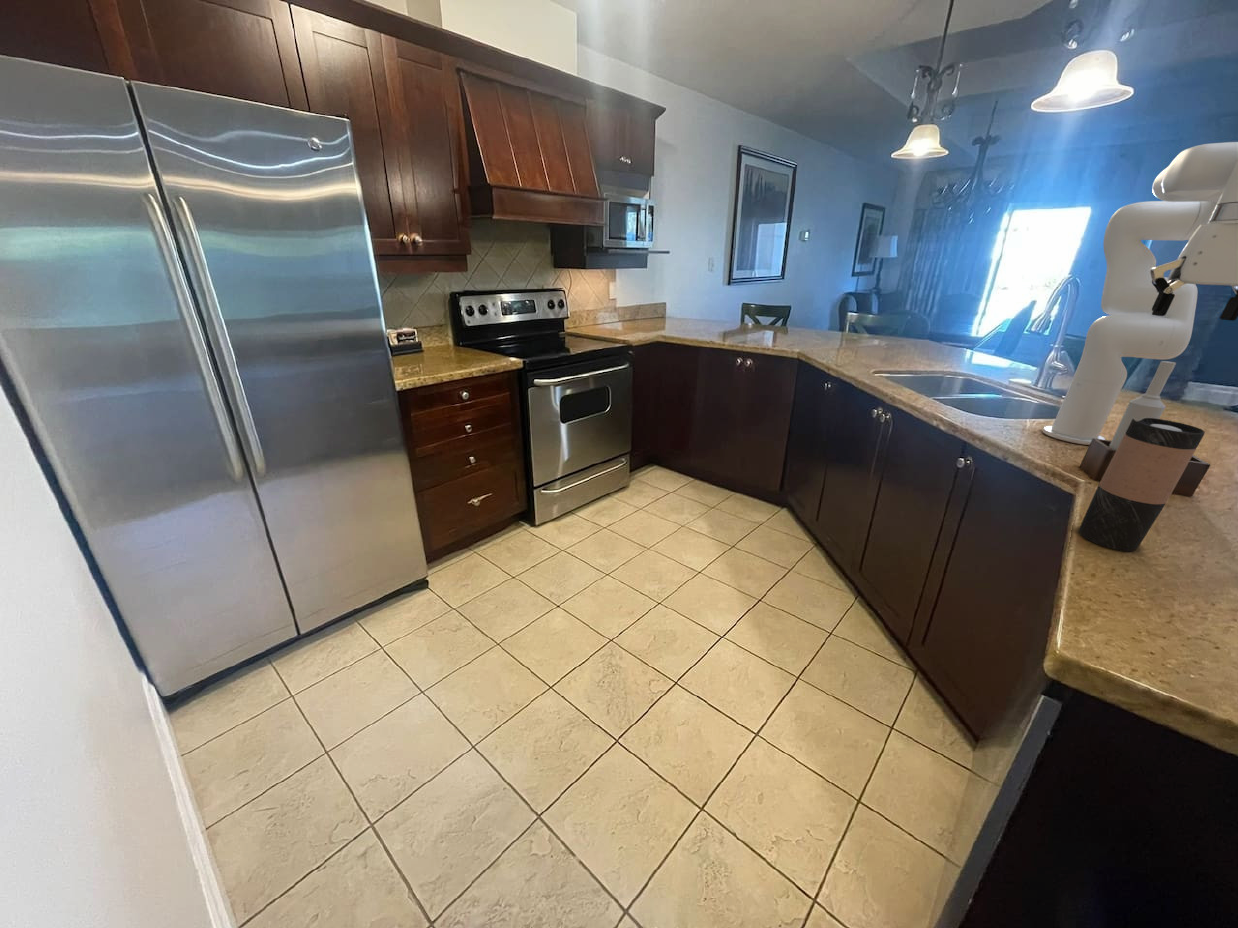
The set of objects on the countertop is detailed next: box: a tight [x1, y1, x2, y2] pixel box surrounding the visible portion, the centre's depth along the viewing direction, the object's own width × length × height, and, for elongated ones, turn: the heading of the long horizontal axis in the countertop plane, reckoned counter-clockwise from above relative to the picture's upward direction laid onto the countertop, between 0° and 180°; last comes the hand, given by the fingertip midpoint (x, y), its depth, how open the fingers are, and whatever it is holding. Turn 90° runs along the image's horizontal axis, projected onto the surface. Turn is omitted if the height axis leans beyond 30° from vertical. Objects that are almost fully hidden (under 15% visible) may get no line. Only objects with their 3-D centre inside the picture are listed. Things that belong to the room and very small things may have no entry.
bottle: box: [1109, 360, 1177, 450], centre depth 98 cm, size 5×5×25 cm
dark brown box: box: [1078, 438, 1211, 497], centre depth 100 cm, size 8×15×7 cm, turn 65°
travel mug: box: [1078, 418, 1206, 552], centre depth 74 cm, size 8×8×20 cm
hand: (1191, 317), depth 89 cm, fingers open, 9 cm apart
